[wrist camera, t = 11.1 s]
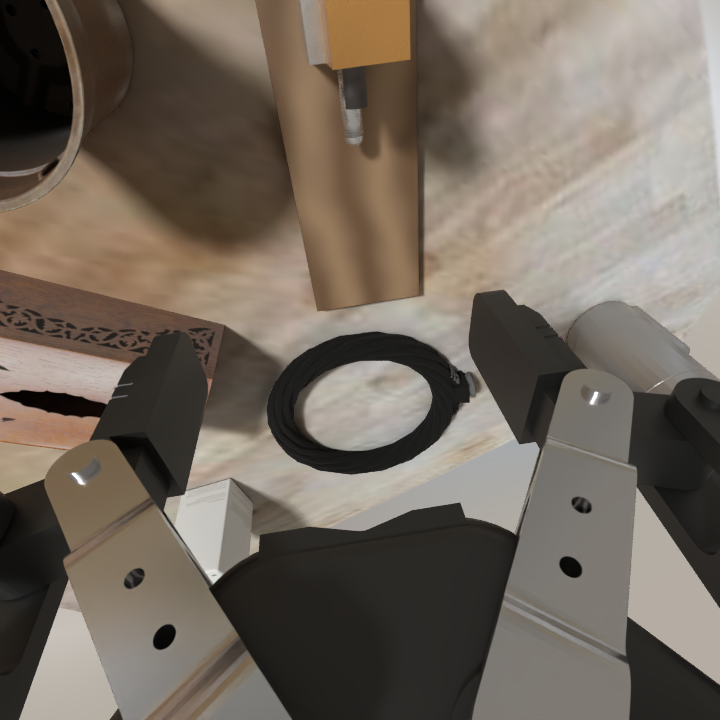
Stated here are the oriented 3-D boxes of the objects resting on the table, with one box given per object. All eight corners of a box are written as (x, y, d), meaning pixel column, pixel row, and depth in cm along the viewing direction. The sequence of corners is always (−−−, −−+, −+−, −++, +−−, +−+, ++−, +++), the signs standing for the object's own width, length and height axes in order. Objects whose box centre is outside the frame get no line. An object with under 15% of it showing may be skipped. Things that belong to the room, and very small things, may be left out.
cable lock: (232, 376, 49) (473, 312, 48) (235, 357, 52) (463, 296, 51) (303, 495, 67) (481, 451, 65) (302, 475, 70) (472, 433, 68)
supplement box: (180, 491, 67) (157, 586, 56) (231, 476, 66) (218, 570, 55) (207, 517, 73) (192, 608, 61) (254, 504, 72) (247, 593, 61)
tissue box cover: (225, 323, 48) (212, 379, 41) (204, 406, 56) (190, 465, 49) (-45, 257, 40) (-126, 312, 32) (-25, 365, 47) (-86, 430, 40)
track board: (409, -161, 27) (505, -314, 15) (415, 289, 48) (456, 373, 37) (228, -140, 26) (176, -281, 14) (316, 304, 48) (325, 395, 36)
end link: (377, -4, 30) (430, -24, 19) (385, 136, 36) (428, 184, 25) (297, 6, 30) (302, -8, 19) (318, 145, 36) (331, 199, 24)
